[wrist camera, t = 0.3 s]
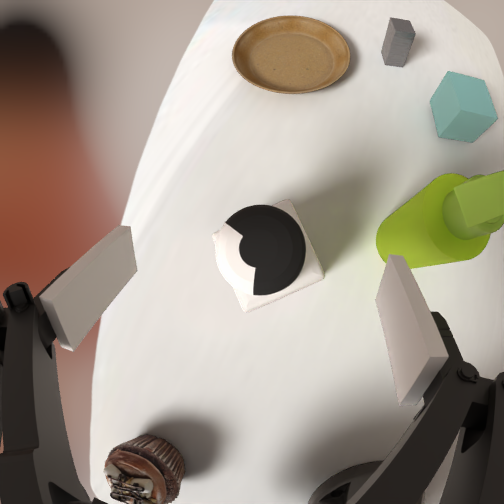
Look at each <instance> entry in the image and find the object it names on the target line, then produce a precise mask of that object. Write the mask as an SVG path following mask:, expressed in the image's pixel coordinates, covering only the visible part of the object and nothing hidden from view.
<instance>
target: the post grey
mask: <svg viewBox="0 0 504 504" xmlns="http://www.w3.org/2000/svg"><path fill="white" fill-rule="evenodd" d="M414 37H415V31H414V29H413V27H412V25H411V22H410V21H408V20H403V19H397V18H390V20H389V24H388V28H387V32H386V36H385V40H384V43H383V47H382V51H381V53H382V56H383V60H384V63H385V65H389V66H397V67H403V65H404V63H405V60H406V58H407V55H408V53H409V50H410V47H411V45H412V42H413V39H414Z"/></svg>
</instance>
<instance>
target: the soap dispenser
mask: <svg viewBox="0 0 504 504" xmlns="http://www.w3.org/2000/svg"><path fill="white" fill-rule="evenodd" d="M503 224H504V170H503V171H500V172H496V173H493V174H490V175H487V176H485V175H476V176H473V177H471V178H470V179H468V178H466V177H464V176H462V175H459V174H452V173H450V174H444V175H441V176H439V177H437V178H436V179H434V180H433V181H432V182H431V183H430V184H428V185H427V186H426V187H425V188H424V189H422V190H421V191H420V192H419V193H418V194H416V195H415V196H414V197H413V198H411V199H410V200H409V201H408V202H406V203H405V204H404V205H403V206H401V207H400V208H399V209H398V210H396V211H395V212H394V213H393V214H391V215H390V216H389V217H388V218H386V219H385V220H384V221H383V222H382V223H381V225H380V227H379V229H378V231H377V235H376V246H377V250H378V252H379V255H380V256H381V258H382V259H383V261H384V262H385V263H387V259H388V256H389V254H393V255H401V256H403V257H404V259H405V261H406V262H407V264H408V266H409V268H410V269H412V268H419V267H426V266H433V265H439V264H446V263H452V262H458V261H464V260H469V259H472V258H474V257H476V256H477V255H479V254H480V253H481V252H482V251H483V250H484V248H485V247H486V245H487V243H488V241H489V238H490V234H491V233H493V232H496V231H497V230H499V229H500V228H501V227H502V225H503Z"/></svg>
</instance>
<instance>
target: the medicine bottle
mask: <svg viewBox="0 0 504 504" xmlns="http://www.w3.org/2000/svg"><path fill="white" fill-rule="evenodd" d="M212 237H213V240H214V243H215V245H216V249H215V253H216V260H217V264H218V267H219V270H220V272H221V273H222V275H223V277H224V278H225V279H226V280H227V281H228V282H229V283H230V284H231V285H232V286H233V288H234V291H235V293H236V295H237V298H238V300H239V302H240V305H241V307H242V309H243V311H244V312H246V313H247V312H251V311H253V310H255V309H258V308H260V307H262V306H265V305H267V304H269V303H272V302H274V301H276V300H279V299H281V298H283V297H285V296H288V295H290V294H292V293H294V292H297V291H299V290H301V289H303V288H306V287H308V286H310V285H312V284H314V283H317V282H319V281H321V280H323V279H324V277H325V273H324V271H323V269H322V267H321V264H320V262H319V260H318V258H317V256H316V253H315V251H314V249H313V247H312V245H311V243H310V240H309V238H308V236H307V234H306V232H305V230H304V228H303V225H302V223H301V221H300V219H299V217H298V215H297V213H296V211H295V209H294V207H293V205H292V203H291V201H290V200H288V199H286V200H283V201H281V202H279V203H277V204H275V205H272V206H270V205H253V206H249V207H246V208H243V209H241V210H239V211H238V212H236V213H234V214H233V215H232V216H231V217H230V218H229V219H228V220H227V221H226V222H225V223H224V225H223V226H222V228H221V230H219V231H217V232H215V233H213V235H212Z"/></svg>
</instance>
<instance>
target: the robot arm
mask: <svg viewBox="0 0 504 504" xmlns="http://www.w3.org/2000/svg"><path fill="white" fill-rule="evenodd" d="M136 272H137V266H136V260H135V254H134V248H133V241H132V234H131V227H130V226H120V225H119V226H117V227H116V228H115V229H114V230H112V231H111V232H110V233H109V234H108V235H106V236H105V237H104V238H103V239H102V240H101V241H99V242H98V243H97V244H96V245H95V246H94V247H93V248H91V249H90V250H89V251H88V252H87V253H86V254H84V255H83V256H82V257H81V258H80V259H79V260H78V261H77V262H75V263H74V264H73V265H72V266H71V267H69V268H68V269H65V270H64V271H62V272H61V273H60V274H59V275H57V276H56V277H55V279H53V280H52V281H51V282H50V284H48V285H47V286H46V287H45V288H44V289H43V290H42V291H41V292H40V293H39V294H38V295H37V296H36V297H34V298H33V297H32V294H31V292H30V289H29V286H28V284H27V283H25V282H18V283H15V284H12V285H11V286H9V287H8V288H7V289H6V290H5V291H4V293H3V296H4V298H5V301H6V303H7V305H8V308H3V306H2V304H1V301H0V444H1V437H2V431H3V444H4V451H3V453H1V454H0V500H1V504H108V503H105V502H103V501H101V500H99V499H97V498H94V499H93V502H91V501H90V498H89V496H88V494H87V492H86V490H85V489H84V487H83V486H82V485H81V483H80V481H79V479H78V476H77V473H76V469H75V466H74V462H73V458H72V454H71V450H70V446H69V441H68V437H67V432H66V428H65V422H64V416H63V411H62V405H61V398H60V391H59V383H58V375H57V365H56V354H55V347H54V344H53V341H54V340H55V338H56V337H57V339H58V341H59V343H60V345H61V347H63V348H65V349H68V350H71V351H73V352H74V350H75V349H76V348H77V346H78V345H79V344H80V342H81V341H82V340H83V338H84V337H85V336H86V334H87V333H88V332H89V330H90V329H91V328H92V326H93V325H94V324H95V323H96V321H97V320H98V319H99V317H100V316H101V315H102V314H103V312H104V311H105V310H106V309H107V307H108V306H109V305H110V304H111V302H112V301H113V300H114V299H115V297H116V296H117V295H118V294H119V292H120V291H121V290H122V289H123V288H124V286H125V285H126V284H127V283H128V281H129V280H130V279H131V278H132V277H133V275H134V274H135V273H136ZM375 301H376V304H377V308H378V312H379V316H380V319H381V323H382V327H383V332H384V336H385V340H386V344H387V349H388V353H389V357H390V362H391V367H392V372H393V377H394V382H395V387H396V392H397V398H398V404H399V406H404V405H417V403H418V402H419V401H420V399H421V398H422V396H423V398H424V402H425V405H424V406H423V407H422V409H421V410H420V411H419V412H418V414H417V415H416V416H415V417H414V421H413V422H412V424H411V425H410V427H409V428H408V429H407V431H406V432H405V434H404V435H403V436H402V438H401V439H400V441H399V442H398V443H397V445H396V446H395V447H394V449H393V450H392V451H391V452H390V454H389V455H388V456H387V458H386V459H385V460H384V461H381V462H372V463H366V464H362V465H358V466H355V467H352V468H350V469H347V470H345V471H343V472H340V473H338V474H337V475H335V476H333V477H331V478H330V479H328V480H327V481H326V482H324V483H323V484H322V485H321V486H320V487H319V488H318V489H317V490H316V491H315V492H314V493H313V495H312V496H311V498H310V500H309V502H308V504H424V503H425V489H426V488H427V486H428V485H429V483H430V482H431V480H432V478H433V477H434V475H435V473H436V472H437V470H438V469H439V467H440V465H441V463H442V462H443V460H444V458H445V456H446V455H447V453H448V451H449V449H450V447H451V445H452V443H453V442H454V440H455V438H456V436H457V434H458V432H459V430H460V433H459V437H458V442H457V446H456V450H455V454H454V458H453V462H452V466H451V469H450V473H449V476H448V479H447V482H446V486H445V489H444V492H443V495H442V497H441V500H440V503H439V504H504V372H502V373H500V374H499V375H498V376H497V377H496V378H495V380H490V379H486V378H482V377H480V376H479V372H478V371H477V369H476V368H475V367H474V366H473V365H471V364H470V363H467V362H465V361H463V358H462V356H461V354H460V351H459V349H458V346H457V344H456V342H455V339H454V338H453V335H452V333H451V331H450V328H449V326H448V324H447V322H446V320H445V319H444V318H443V317H442V316H441V315H440V313H439V312H430V310H429V308H428V306H427V303H426V301H425V299H424V297H423V295H422V293H421V291H420V288H419V286H418V284H417V282H416V280H415V278H414V276H413V274H412V272H411V270H410V268H409V266H408V264H407V262H406V261H405V259H404V257H403V256H401V255H393V254H389V256H388V259H387V263H386V267H385V270H384V274H383V277H382V280H381V284H380V287H379V290H378V293H377V296H376V299H375ZM460 427H461V428H460Z"/></svg>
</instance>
